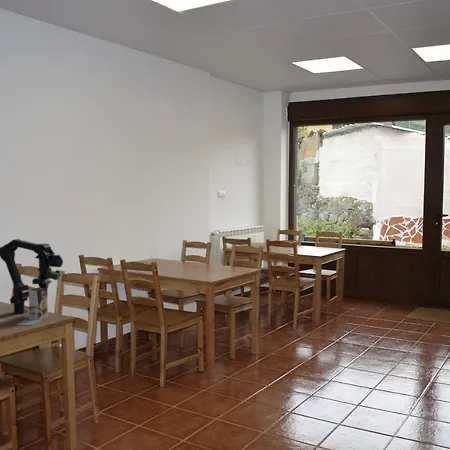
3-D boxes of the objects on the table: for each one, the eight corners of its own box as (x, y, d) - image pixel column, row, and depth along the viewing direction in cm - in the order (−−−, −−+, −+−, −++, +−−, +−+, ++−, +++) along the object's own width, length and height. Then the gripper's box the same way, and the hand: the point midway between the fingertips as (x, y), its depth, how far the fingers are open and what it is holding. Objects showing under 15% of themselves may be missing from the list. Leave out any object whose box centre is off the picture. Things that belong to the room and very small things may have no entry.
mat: (25, 320, 289) (25, 319, 289) (42, 320, 288) (42, 319, 288) (16, 325, 278) (16, 324, 278) (32, 325, 277) (32, 324, 277)
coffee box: (39, 320, 290) (39, 290, 289) (28, 319, 291) (28, 290, 290) (48, 316, 299) (47, 287, 298) (38, 315, 300) (37, 287, 299)
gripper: (51, 269, 292) (52, 297, 292) (64, 264, 310) (65, 291, 311) (31, 268, 293) (32, 297, 294) (46, 264, 311) (46, 291, 312)
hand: (44, 294), depth 303 cm, fingers closed
